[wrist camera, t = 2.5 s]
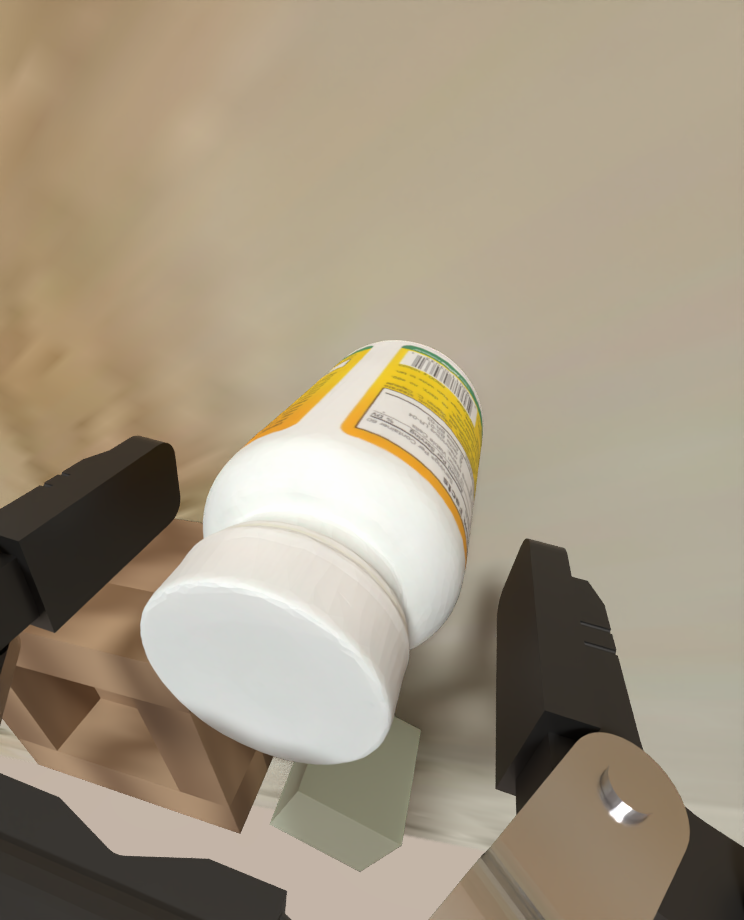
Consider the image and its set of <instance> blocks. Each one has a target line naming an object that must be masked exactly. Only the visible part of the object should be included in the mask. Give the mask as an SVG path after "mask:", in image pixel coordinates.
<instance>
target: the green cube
mask: <svg viewBox="0 0 744 920" xmlns="http://www.w3.org/2000/svg"><path fill="white" fill-rule="evenodd" d="M420 734H421V730H420V729H418V728H416V727H414V726H412V725H410V724H408V723H406V722H404V721H403V720H401V719H399V718H397V717H395V716H394V718H393V722H392V725H391V727H390V730H389V732H388V734H387V736H386V737H385V739H384V741H383V742H382V744H381V745H380V746H379V747H378V748H377V749H376V750H374V751H373V752H372V753H371V754H369V755H367V756H366V757H364V758H361V759H358V760H355V761H352V762H347V763H340V764H333V765H315V764H307V763H299V762H294V763H293V765H292V768H291V770H290V773H289V776H288V778H287V781H286V783H285V786H284V789H283V791H282V794H281V796H280V799H279V801H278V804H277V807H276V809H275V812H274V814H273V817H272V820H271V822H270V825H272V826H274V827H276V828H278V829H280V830H281V831H283V832H285V833H287V834H289V835H291V836H293V837H295V838H297V839H298V840H300V841H302V842H304V843H306V844H308V845H310V846H312V847H314V848H315V849H317V850H319V851H322V852H323V853H325V854H327V855H329V856H331V857H333V858H335V859H337V860H338V861H340V862H342V863H344V864H346V865H348V866H350V867H351V868H353V869H355V870H357V871H359V872H361V871H362V870H364V869H365V868H367V867H369V866H370V865H372V864H373V863H375V862H376V861H378V860H380V859H381V858H383V857H384V856H386V855H387V854H389V853H391V852H392V851H394V850H395V849H397V848H399V847H400V846H401V845H402V840H403V835H404V829H405V823H406V817H407V811H408V805H409V799H410V793H411V787H412V781H413V775H414V769H415V763H416V757H417V751H418V746H419V740H420Z"/></svg>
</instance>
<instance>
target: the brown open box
mask: <svg viewBox="0 0 744 920" xmlns="http://www.w3.org/2000/svg"><path fill="white" fill-rule="evenodd" d="M203 539H204V538H203V523H199V522H192V521H185V520H179V519H173V521H172V522H171V523H170V524H169V525H168V526H167V527H166V528H165V529H164V530H163V531H162V532H161V533H160V534H159V535H158V536H156V537H155V538H154V539H153V540H152V541H151V542H150V543H149V544H148V545H147V546H146V547H145V548H144V549H143V550H142V551H141V552H140V553H139V554H138V555H136V556H135V557H134V558H133V559H132V560H131V561H130V562H129V563H128V564H127V565H126V566H125V567H124V568H123V569H122V570H121V571H120V572H119V573H118V574H117V575H115V576H114V577H113V578H112V579H111V580H110V581H109V582H108V583H107V584H106V585H105V586H104V587H103V588H102V589H101V590H100V591H99V592H98V593H97V594H95V595H94V596H93V597H92V598H91V599H90V600H89V601H88V602H87V603H86V604H85V605H84V606H83V607H82V608H81V609H80V610H79V611H78V612H77V613H76V614H74V615H73V616H72V617H71V618H70V619H69V620H68V621H67V622H66V623H65V624H64V625H63V626H62V627H61V628H60V629H59V630H58V631H57V632H56V633H53V632H50V631H47V630H44V629H41V628H39V627H36V626H33V625H29V626H28V627H27V628H26V629H24V630H23V631H22V632H21V633H20V634H19V636H20V639H21V649H20V653H19V656H18V660H17V664H16V668H15V671H14V675H13V679H12V683H11V687H10V690H9V694H8V698H7V702H6V705H5V709H4V713H3V717H2V719H3V720H4V721H5V722H6V724H7V725H8V726H9V728H10V729H11V730H12V731H13V733H14V734H15V735H16V736H17V738H18V739H19V740H20V742H21V743H22V744H23V745H24V747H25V748H26V749H27V750H28V752H29V753H30V754H31V755H32V757H33V758H34V759H35V761H36V762H37V763H38V764H39V765H42V766H45V767H48V768H50V769H53V770H56V771H59V772H62V773H65V774H68V775H71V776H74V777H77V778H80V779H82V780H85V781H88V782H92V783H94V784H97V785H100V786H103V787H106V788H109V789H112V790H114V791H118V792H120V793H123V794H126V795H129V796H132V797H135V798H138V799H141V800H144V801H147V802H149V803H152V804H155V805H158V806H161V807H164V808H167V809H170V810H173V811H175V812H178V813H181V814H184V815H187V816H190V817H193V818H196V819H199V820H202V821H205V822H207V823H210V824H214V825H216V826H219V827H222V828H225V829H228V830H231V831H234V832H237V833H241V831H242V828H243V826H244V824H245V821H246V819H247V817H248V814H249V812H250V810H251V808H252V805H253V803H254V800H255V798H256V796H257V793H258V791H259V789H260V786H261V784H262V782H263V779H264V777H265V775H266V772H267V770H268V768H269V765H270V763H271V761H272V758H273V756H271V755H268V754H265V753H262V752H260V751H257V750H255V749H253V748H250V747H248V746H246V745H243V744H241V743H239V742H237V741H235V740H233V739H231V738H229V737H227V736H225V735H223V734H222V733H220V732H219V731H217V730H215V729H214V728H212V727H211V726H209V725H208V724H206V723H205V722H204V721H202V720H201V719H200V718H198V717H197V716H196V715H195V714H193V713H192V712H191V711H190V710H189V709H188V708H187V707H185V706H184V705H183V704H182V703H181V702H180V701H179V700H178V699H177V698H176V697H175V696H174V695H173V694H172V693H171V691H170V690H169V689H168V688H167V687H166V686H165V684H164V683H163V682H162V681H161V679H160V678H159V676H158V675H157V673H156V672H155V670H154V669H153V667H152V666H151V664H150V662H149V660H148V658H147V655H146V653H145V649H144V647H143V644H142V639H141V633H140V632H141V629H140V623H141V617H142V612H143V610H144V607H145V606H146V604H147V603H148V601H149V599H150V598H151V596H152V595H153V594H154V592H155V591H156V590H157V589H158V588H159V587H160V586H161V585H162V584H163V582H164V581H165V580H166V579H167V578H168V577H169V576H170V575H171V574H172V573H173V571H174V570H175V569H176V568H177V567H178V566H179V565H180V563H181V562H182V561H183V559H184V558H185V556H186V555H187V554H188V553H189V551H190V550H191V549H192V548H193V547H194V546H195V545H196V544H197V543H198V542H200V541H201V540H203Z"/></svg>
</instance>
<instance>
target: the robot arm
mask: <svg viewBox="0 0 744 920" xmlns="http://www.w3.org/2000/svg"><path fill="white" fill-rule="evenodd" d="M179 506H180V491H179V483H178V475H177V467H176V459H175V452H174V449H173V447H172V446H171V445H170V444H168V443H165V442H161V441H157V440H153V439H149V438H146V437H142V436H133V437H131V438H129V439H127V440H126V441H124V442H123V443H121V444H119V445H118V446H116V447H114V448H113V449H111V450H110V451H107V452H104V453H101V454H98V455H95V456H92V457H89V458H86V459H83V460H81V461H80V462H78V463H76V464H75V465H73V466H71V467H70V468H68V469H66V470H65V471H63V472H62V475H56V476H55V477H53V478H51V479H50V480H48V481H46V482H45V483H44V486H38V487H36V488H35V489H33V490H31V491H30V492H28V493H26V494H25V495H23V496H21V497H20V498H18V499H16V500H15V501H13V502H11V503H10V504H8V505H6V506H5V507H3V508H1V509H0V724H1V721H2V717H3V713H4V709H5V705H6V702H7V698H8V694H9V690H10V687H11V683H12V679H13V675H14V671H15V668H16V664H17V660H18V656H19V653H20V649H21V639H20V636H19V634H20V633H21V632H22V631H23V630H24V629H26V628H27V627H28V626H29V625H33V626H36V627H39V628H41V629H44V630H47V631H50V632H53V633H56V632H57V631H58V630H59V629H60V628H61V627H62V626H63V625H64V624H65V623H66V622H67V621H68V620H69V619H70V618H71V617H72V616H73V615H74V614H76V613H77V612H78V611H79V610H80V609H81V608H82V607H83V606H84V605H85V604H86V603H87V602H88V601H89V600H90V599H91V598H92V597H93V596H94V595H95V594H97V593H98V592H99V591H100V590H101V589H102V588H103V587H104V586H105V585H106V584H107V583H108V582H109V581H110V580H111V579H112V578H113V577H114V576H115V575H117V574H118V573H119V572H120V571H121V570H122V569H123V568H124V567H125V566H126V565H127V564H128V563H129V562H130V561H131V560H132V559H133V558H134V557H135V556H136V555H138V554H139V553H140V552H141V551H142V550H143V549H144V548H145V547H146V546H147V545H148V544H149V543H150V542H151V541H152V540H153V539H154V538H155V537H156V536H158V535H159V534H160V533H161V532H162V531H163V530H164V529H165V528H166V527H167V526H168V525H169V524H170V523H171V522H172V521H173V519H174V518H175V516H176V514H177V512H178V509H179ZM610 630H611V628H610V624H609V621H608V617H607V613H606V609H605V605H604V604H603V602H602V601H601V599H600V598H599V596H598V595H597V594H596V592H595V591H594V589H593V588H592V586H591V585H590V584H589V582H588V581H586V580H582V579H578V578H574V577H572V576H571V571H570V566H569V561H568V555H567V552H566V550H565V549H564V548H562V547H558V546H554V545H550V544H546V543H543V542H539V541H535V540H531V539H525V540H524V541H523V543H522V545H521V547H520V550H519V552H518V555H517V557H516V559H515V562H514V564H513V566H512V569H511V571H510V574H509V576H508V578H507V581H506V583H505V586H504V588H503V591H502V594H501V597H500V601H499V606H498V613H497V673H496V789H497V790H500V791H503V792H506V793H509V794H512V795H514V796H516V816H515V818H514V819H513V820H512V821H511V823H510V824H509V825H508V826H507V827H506V829H505V830H504V831H503V832H502V833H501V835H500V836H499V837H498V838H497V840H496V841H495V842H494V843H493V844H492V846H491V847H490V848H489V849H488V850H487V851H486V852H485V853H484V854H483V855H482V856H481V857H480V858H479V859H478V861H477V862H476V863H475V864H474V866H472V868H471V869H470V870H469V871H468V872H467V874H466V875H465V876H464V877H463V878H462V880H461V881H460V882H459V883H458V884H457V886H456V887H455V888H454V889H453V891H452V892H451V893H450V894H449V895H448V897H447V898H446V899H445V900H444V901H443V903H442V904H441V905H440V906H439V907H438V909H437V910H436V911H435V912H434V914H433V915H432V916H431V917H430V918H429V920H744V847H742V846H741V845H739V844H738V843H736V842H735V841H733V840H732V839H730V838H729V837H727V836H726V835H724V834H722V833H721V832H719V831H718V830H716V829H715V828H713V827H712V826H710V825H709V824H707V823H706V822H704V821H703V820H701V819H700V818H699V817H697V816H696V815H694V814H693V813H692V812H691V811H690V810H689V809H687V808H686V807H685V806H684V804H683V801H682V799H681V796H680V795H679V793H678V791H677V789H676V787H675V786H674V784H673V783H672V781H671V780H670V778H669V777H668V775H667V774H666V773H665V772H664V771H663V769H662V768H661V767H660V766H659V765H658V764H657V763H656V762H655V761H654V760H653V759H652V758H651V757H650V756H649V755H648V754H647V753H645V752H644V751H643V748H642V745H641V742H640V738H639V734H638V731H637V727H636V723H635V719H634V715H633V712H632V708H631V704H630V700H629V696H628V693H627V689H626V685H625V681H624V677H623V674H622V670H621V666H620V662H619V659H618V656H617V655H616V647H615V643H614V640H613V636H612V634H610ZM286 895H287V891H286V890H283V889H281V888H278V887H276V886H274V885H271V884H268V883H266V882H264V881H261V880H259V879H256V878H254V877H252V876H249V875H247V874H244V873H242V872H239V871H237V870H234V869H232V868H229V867H227V866H225V865H222V864H220V863H218V862H215V861H212V860H210V859H196V858H169V857H140V856H122V855H118V854H115V853H113V852H112V851H111V850H109V849H108V848H107V847H106V846H105V845H104V843H102V841H101V840H100V839H99V838H98V837H97V836H96V835H95V834H94V833H93V832H92V831H91V830H90V829H89V828H88V827H87V826H86V825H85V824H84V823H83V822H82V820H81V819H80V818H79V817H78V816H77V815H76V814H75V813H74V812H73V811H72V810H71V809H70V808H69V807H68V806H67V805H66V804H65V803H64V802H63V801H62V800H61V799H60V798H59V797H57V796H54V795H52V794H49V793H47V792H45V791H42V790H40V789H37V788H35V787H33V786H30V785H28V784H25V783H23V782H20V781H18V780H15V779H13V778H10V777H8V776H6V775H3V774H1V773H0V920H291V919H290V918H289V917H288V916H287V915H286V914H285V907H286Z"/></svg>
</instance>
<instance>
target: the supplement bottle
mask: <svg viewBox="0 0 744 920" xmlns="http://www.w3.org/2000/svg"><path fill="white" fill-rule="evenodd" d="M482 435H483V415H482V409H481V405H480V401H479V398H478V396H477V393H476V391H475V389H474V387H473V385H472V383H471V382H470V380H469V379H468V377H467V376H466V375H465V373H464V372H463V371H462V370H461V369H460V368H459V367H458V366H457V365H456V364H455V363H454V362H453V361H452V360H450V359H449V358H448V357H447V356H445V355H443V354H442V353H440V352H439V351H437V350H435V349H433V348H431V347H428V346H425V345H422V344H419V343H415V342H409V341H400V340H389V341H381V342H377V343H373V344H369V345H366V346H364V347H362V348H359V349H358V350H356V351H354V352H352V353H351V354H349V355H348V356H347V357H345V358H344V359H343V360H342V361H341V362H339V363H338V364H337V365H336V366H335V367H334V368H333V369H332V370H330V371H329V372H328V373H327V374H326V375H325V376H324V377H322V378H321V379H320V380H319V381H318V382H317V383H316V384H315V385H314V386H312V387H311V388H310V389H309V390H308V391H307V392H305V393H304V394H303V395H302V396H301V397H300V398H299V399H298V400H296V401H295V402H294V403H293V404H292V405H291V406H290V407H288V408H287V409H286V410H285V411H284V412H283V413H281V414H280V415H279V416H278V417H277V418H275V419H274V420H273V421H272V422H271V423H270V424H269V425H268V426H266V427H265V428H264V429H263V430H262V431H260V432H259V433H258V434H257V435H256V436H254V437H253V438H252V439H251V440H250V441H249V442H248V443H247V444H246V445H245V446H244V447H243V448H242V449H241V450H240V451H238V452H237V453H236V454H235V455H234V456H233V457H232V458H231V459H230V461H229V462H228V463H227V464H226V465H225V466H224V467H223V469H222V470H221V472H220V473H219V474H218V476H217V477H216V479H215V481H214V483H213V485H212V487H211V489H210V492H209V494H208V497H207V501H206V505H205V509H204V517H203V538H204V539H203V540H201V541H200V542H198V543H197V544H196V545H195V546H194V547H193V548H192V549H191V550H190V551H189V553H188V554H187V555H186V556H185V558H184V559H183V561H182V562H181V563H180V565H179V566H178V567H177V568H176V569H175V570H174V571H173V573H172V574H171V575H170V576H169V577H168V578H167V579H166V580H165V581H164V582H163V584H162V585H161V586H160V587H159V588H158V589H157V590H156V591H155V592H154V594H153V595H152V596H151V598H150V599H149V601H148V603H147V604H146V606H145V607H144V610H143V612H142V617H141V623H140V629H141V632H140V633H141V639H142V644H143V647H144V649H145V653H146V655H147V658H148V660H149V662H150V664H151V666H152V667H153V669H154V670H155V672H156V673H157V675H158V676H159V678H160V679H161V681H162V682H163V683H164V684H165V686H166V687H167V688H168V689H169V690H170V691H171V693H172V694H173V695H174V696H175V697H176V698H177V699H178V700H179V701H180V702H181V703H182V704H183V705H184V706H185V707H187V708H188V709H189V710H190V711H191V712H192V713H193V714H195V715H196V716H197V717H198V718H200V719H201V720H202V721H204V722H205V723H206V724H208V725H209V726H211V727H212V728H214V729H215V730H217V731H219V732H220V733H222V734H223V735H225V736H227V737H229V738H231V739H233V740H235V741H237V742H239V743H241V744H243V745H246V746H248V747H250V748H253V749H255V750H257V751H260V752H262V753H265V754H268V755H271V756H274V757H277V758H280V759H284V760H288V761H293V762H299V763H307V764H315V765H333V764H340V763H347V762H352V761H355V760H358V759H361V758H364V757H366V756H367V755H369V754H371V753H372V752H373V751H374V750H376V749H377V748H378V747H379V746H380V745H381V744H382V742H383V741H384V739H385V737H386V736H387V734H388V732H389V730H390V727H391V725H392V722H393V718H394V714H395V710H396V706H397V702H398V698H399V694H400V690H401V685H402V681H403V677H404V674H405V671H406V668H407V666H408V662H409V650H411V649H413V648H415V647H417V646H418V645H420V644H422V643H423V642H424V641H426V640H427V639H428V638H430V637H431V636H432V635H433V634H434V633H435V632H437V630H438V629H439V628H440V627H441V626H442V625H443V624H444V622H445V621H446V620H447V618H448V617H449V615H450V614H451V612H452V610H453V608H454V606H455V604H456V602H457V599H458V597H459V594H460V590H461V587H462V583H463V578H464V573H465V568H466V561H467V553H468V544H469V536H470V528H471V521H472V512H473V505H474V498H475V491H476V482H477V474H478V467H479V459H480V451H481V446H482Z"/></svg>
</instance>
